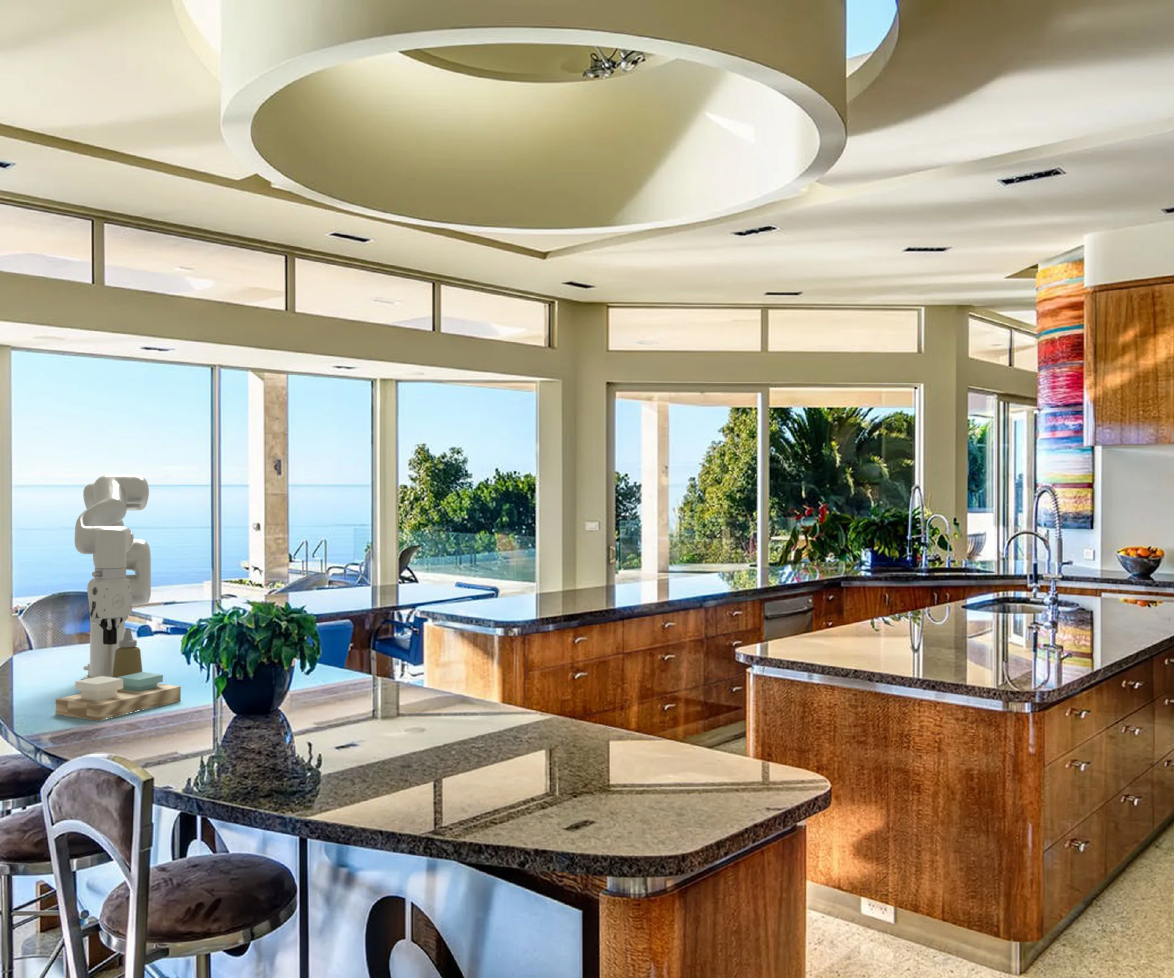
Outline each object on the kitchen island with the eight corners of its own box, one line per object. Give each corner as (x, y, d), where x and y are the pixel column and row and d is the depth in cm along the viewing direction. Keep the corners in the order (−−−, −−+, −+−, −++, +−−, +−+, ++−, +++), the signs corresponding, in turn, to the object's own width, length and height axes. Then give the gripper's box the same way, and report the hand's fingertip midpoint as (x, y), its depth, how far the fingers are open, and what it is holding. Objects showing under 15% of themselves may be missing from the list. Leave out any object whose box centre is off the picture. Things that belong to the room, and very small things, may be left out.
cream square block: (96, 703, 252) (96, 684, 252) (75, 700, 256) (75, 681, 255) (123, 697, 259) (123, 678, 259) (101, 694, 263) (101, 675, 263)
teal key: (138, 698, 264) (138, 679, 264) (117, 695, 267) (117, 677, 267) (162, 692, 271) (162, 674, 271) (141, 689, 275) (141, 671, 275)
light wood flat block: (99, 721, 248) (99, 705, 248) (55, 714, 255) (55, 698, 255) (180, 700, 272) (180, 686, 272) (138, 694, 279) (138, 680, 279)
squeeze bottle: (134, 693, 280) (135, 630, 280) (106, 692, 281) (107, 629, 280) (147, 687, 289) (148, 626, 288) (120, 686, 289) (121, 625, 289)
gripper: (96, 577, 252) (95, 649, 252) (143, 573, 265) (143, 641, 265) (75, 576, 255) (75, 647, 255) (123, 571, 268) (122, 639, 268)
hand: (109, 643), depth 260 cm, fingers closed
